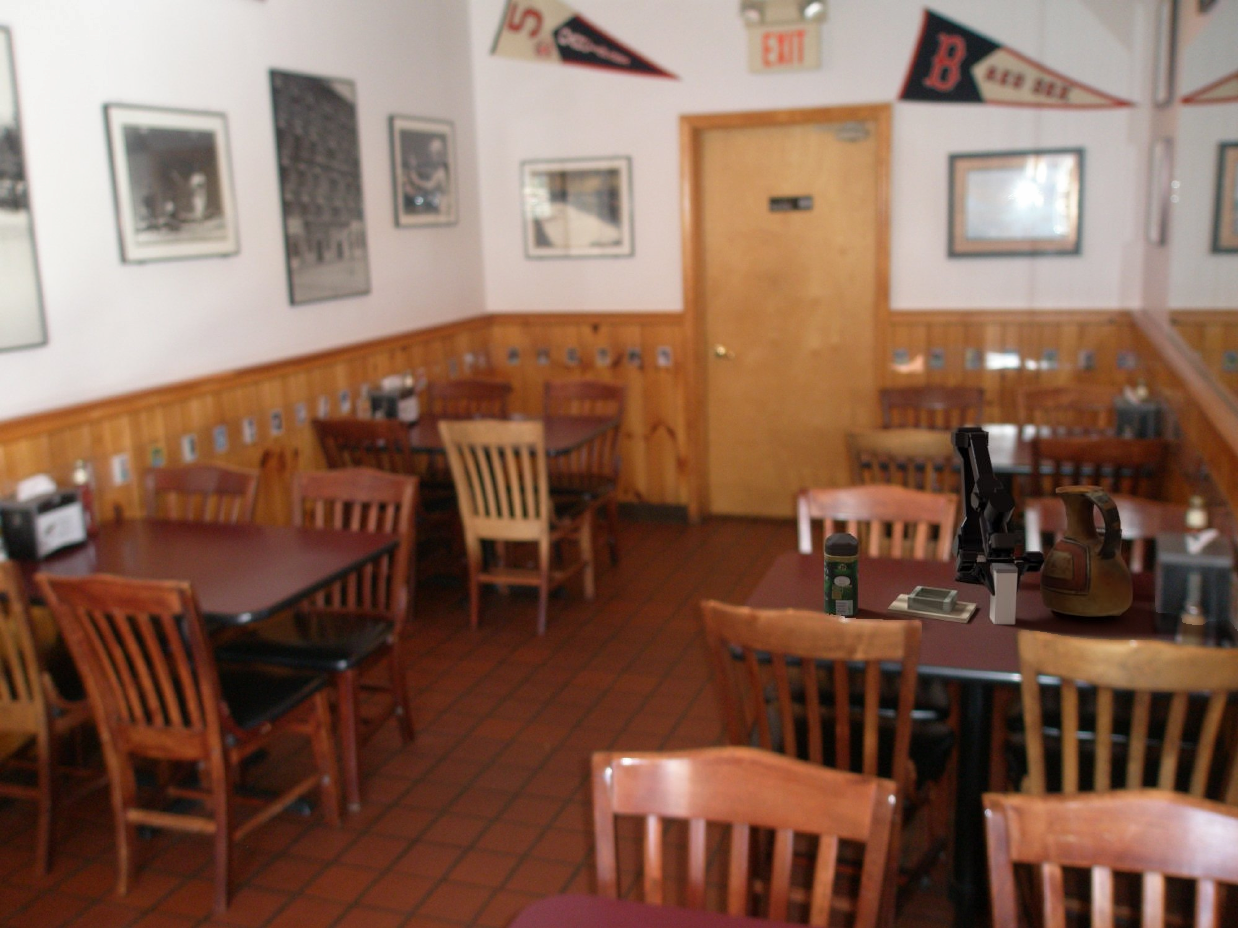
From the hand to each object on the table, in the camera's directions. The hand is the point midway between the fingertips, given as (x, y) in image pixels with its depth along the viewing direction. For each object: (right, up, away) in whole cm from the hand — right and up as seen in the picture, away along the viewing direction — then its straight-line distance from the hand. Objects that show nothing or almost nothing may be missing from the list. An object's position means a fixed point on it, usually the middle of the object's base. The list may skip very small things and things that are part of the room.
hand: (1005, 595), depth 257 cm
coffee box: (+29, -2, +21) cm, 36 cm away
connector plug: (0, -6, +3) cm, 7 cm away
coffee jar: (-35, -6, +11) cm, 37 cm away
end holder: (-13, -5, +11) cm, 18 cm away
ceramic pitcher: (+20, -5, +6) cm, 22 cm away
